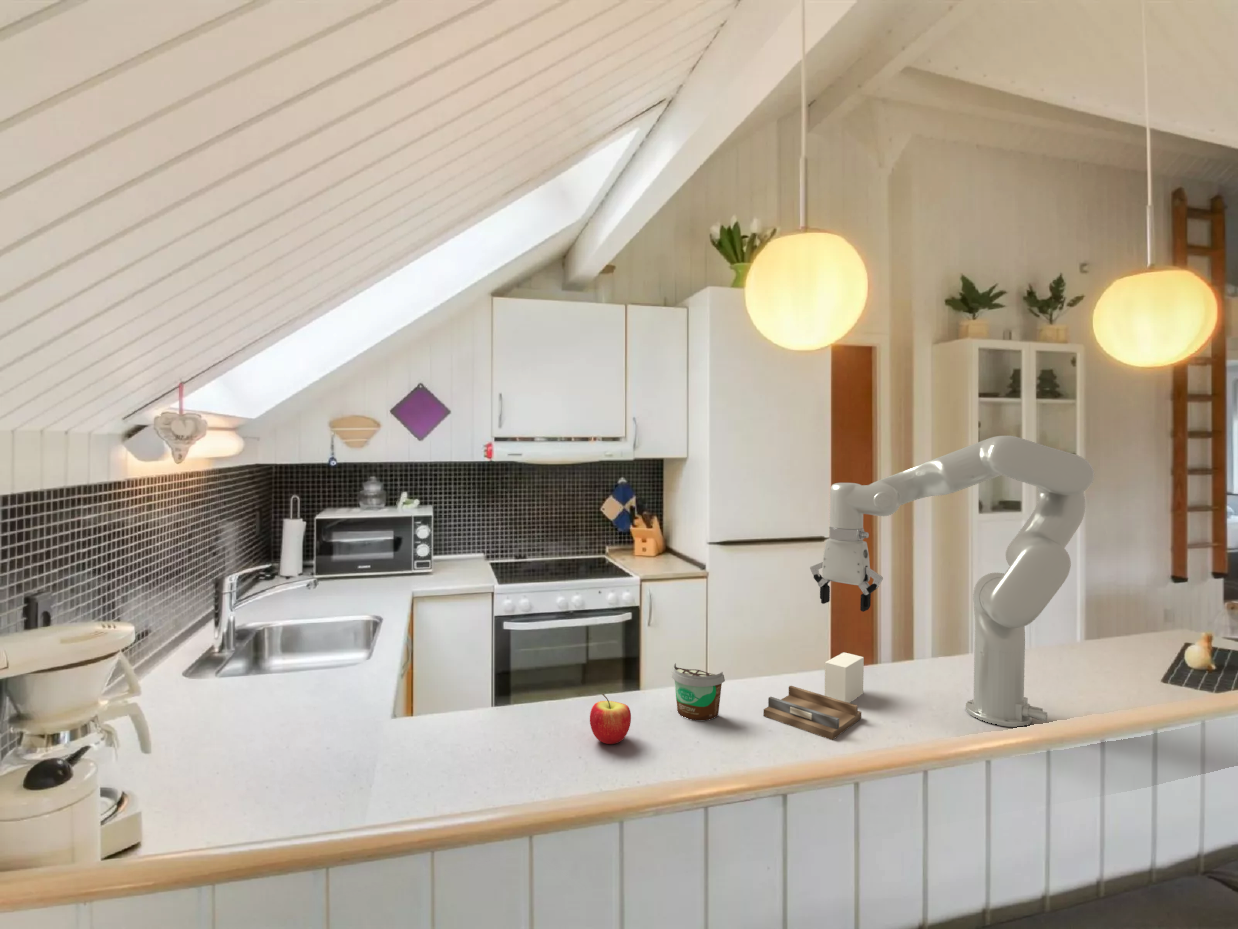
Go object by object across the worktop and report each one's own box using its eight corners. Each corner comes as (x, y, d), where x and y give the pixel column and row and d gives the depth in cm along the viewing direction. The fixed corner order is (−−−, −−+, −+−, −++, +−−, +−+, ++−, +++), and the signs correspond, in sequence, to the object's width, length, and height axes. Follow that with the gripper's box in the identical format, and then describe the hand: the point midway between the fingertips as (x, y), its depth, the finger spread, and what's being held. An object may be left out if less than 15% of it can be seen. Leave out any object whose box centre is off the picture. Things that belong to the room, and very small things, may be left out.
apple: (584, 735, 129) (584, 687, 128) (622, 728, 132) (622, 682, 131) (596, 753, 121) (597, 703, 121) (637, 746, 124) (637, 696, 124)
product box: (863, 693, 151) (863, 657, 150) (845, 706, 143) (845, 667, 143) (842, 688, 154) (842, 652, 154) (823, 699, 147) (824, 662, 147)
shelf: (861, 718, 137) (861, 702, 137) (832, 740, 127) (832, 723, 127) (794, 697, 148) (795, 683, 148) (763, 716, 138) (763, 700, 138)
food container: (662, 715, 138) (662, 671, 138) (673, 705, 143) (673, 662, 143) (715, 727, 132) (715, 681, 132) (724, 716, 138) (725, 671, 137)
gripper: (889, 537, 144) (887, 610, 145) (819, 529, 156) (817, 597, 157) (876, 540, 139) (874, 616, 139) (804, 532, 151) (803, 602, 152)
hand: (844, 606), depth 148 cm, fingers open, 9 cm apart
